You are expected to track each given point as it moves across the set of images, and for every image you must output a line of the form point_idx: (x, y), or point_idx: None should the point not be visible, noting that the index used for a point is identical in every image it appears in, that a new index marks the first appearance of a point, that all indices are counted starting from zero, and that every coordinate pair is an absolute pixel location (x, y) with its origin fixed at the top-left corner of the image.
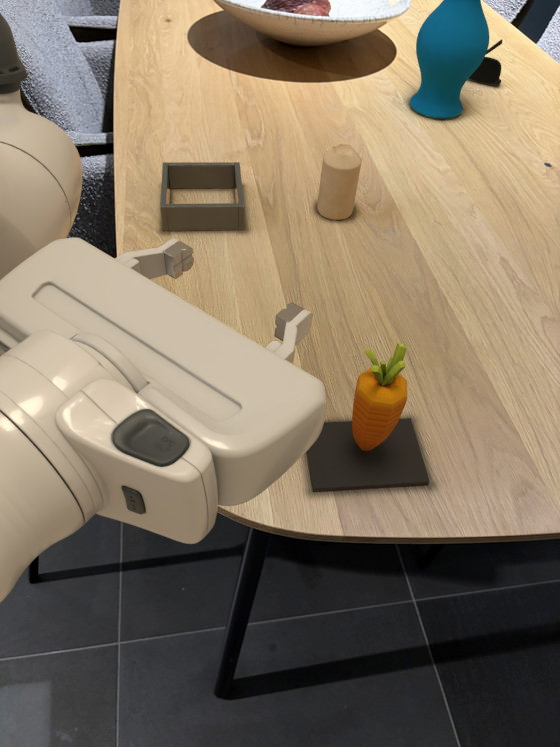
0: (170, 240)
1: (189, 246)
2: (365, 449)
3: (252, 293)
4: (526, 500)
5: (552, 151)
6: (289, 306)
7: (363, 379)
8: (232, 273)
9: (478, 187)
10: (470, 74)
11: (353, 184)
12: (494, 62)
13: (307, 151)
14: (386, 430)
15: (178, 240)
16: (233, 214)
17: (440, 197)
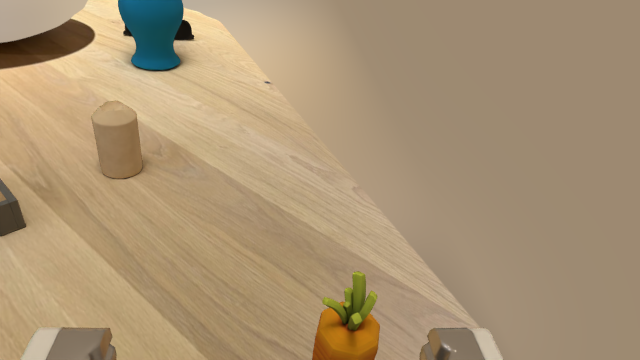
0: (33, 343)
1: (101, 329)
2: None
3: (81, 294)
4: None
5: (263, 73)
6: (447, 342)
7: (329, 335)
8: (39, 283)
9: (233, 110)
10: (177, 29)
11: (136, 136)
12: (183, 22)
13: (57, 124)
14: None
15: (56, 329)
16: (5, 214)
17: (210, 126)
